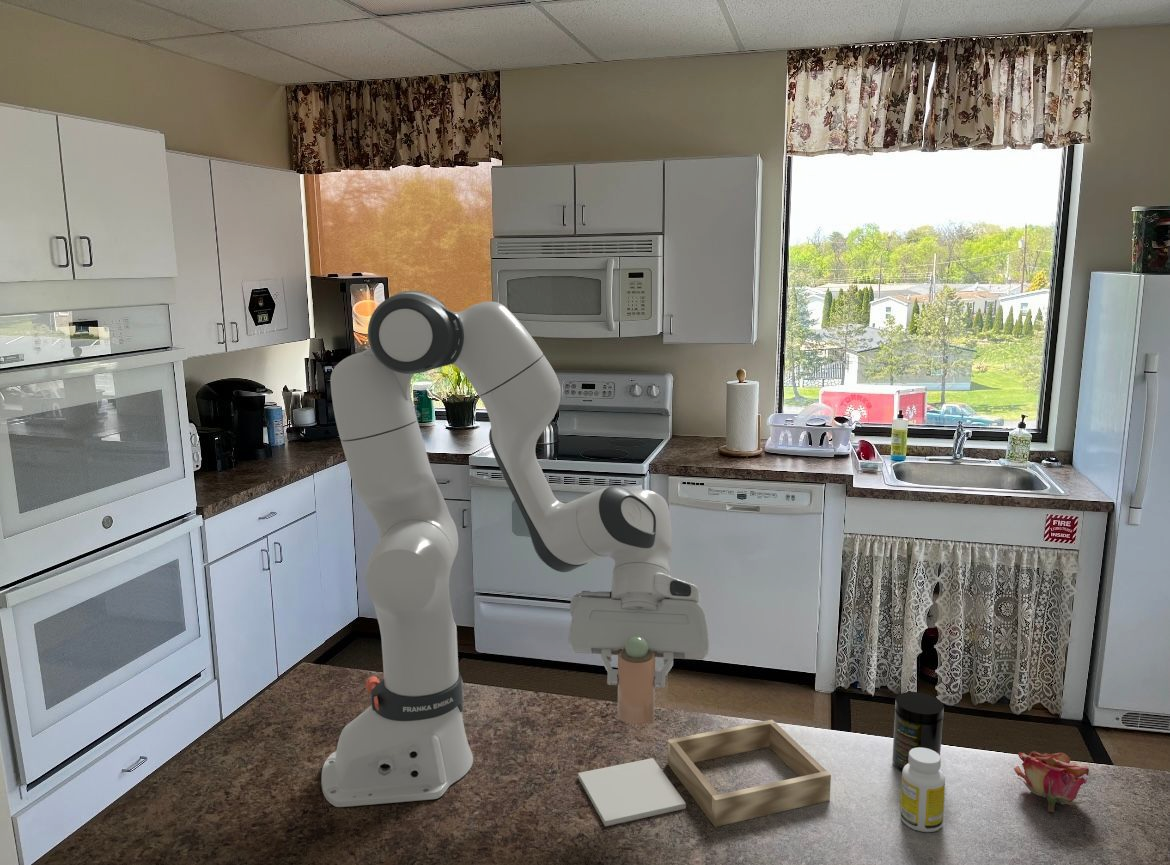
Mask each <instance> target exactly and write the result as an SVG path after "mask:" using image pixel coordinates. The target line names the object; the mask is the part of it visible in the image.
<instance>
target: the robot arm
mask: <svg viewBox="0 0 1170 865" xmlns="http://www.w3.org/2000/svg"><path fill="white" fill-rule="evenodd" d="M367 338H368V344H369V347H367V349H365V350H362V351H360V352H357V353H353V354H351V355H348V356H346V357H345V358H343V359H342V360H341V361H339V362H338V363H337V364H336V365H335V366H334V368H332V369H333V370H331V374H330V381H329V382H330V391H331V400H332V401H331V402H332V407H333V414H334V419H335V424H336V428H337V431H338V435H339V440H340V442H341V446H342V449H343V453H344V457H345V460H346V463H347V467H348V470H349V473H350V476H351V480H352V484H353V487H354V490H355V493H356V494H357V495H358V497H359V498H361V499H362V500H363V501H364V504H365V505H366V508H367V509H368V510H369V512H370V514H371V517H372V518H373V520H374V523H375V525H376V527H377V530H378V533H379V541H378V543H377V544H376V545H375V547H374V548H373V550H371V553H370V556H369V558H368V562H367V565H366V566H367V567H366V572H365V573H366V574H365V585H366V586H365V587H366V590H367V594H368V595H369V597H370V599H371V601H372V603H373V608H374V611H375V615H376V620H377V622H378V626H379V631H380V638H381V640H380V641H381V653H382V666H383V667H382V668H383V669H382V670H383V679H382V680H380V679H379V678H378V677H377V676H376V675H375V676H374V675H373V676H369V677H367V679H366V682H365V685H366V690H367V692H368V693H369V694H370V702H371V704H370V706H369V707H367V708H366V709H365V710H364V711H363V712H361V713H360V714H359V715H358V716H356V717H355V718H354V719H352V721H349V722H348V723H347V724H346V725H345V727H343V729H342V730H341V733H340V734H339V738H338V742H337V746H336V750H335V751H334V752H331V754H329V756H328V757H327V758H326V760H325V761H324V764H322V765H323V766H322V769H321V790H322V794H323V796H324V798H325V799H326V801H327V802H329V804H331V805H332V806H334V807H335V808H345V807H357V806H358V807H359V806H368V805H370V806H371V805H380V804H381V805H383V804H392V803H404V802H406V803H407V802H415V801H416V802H417V801H428V800H436V799H440V798H441V797H442V796H443V795H445V793H446V791H447V790H448V789H449V787H450V786H451V785H453V784H454V783H456V782H457V781H460V780H461V779H462V778H463V777H464V776H465V775H466V774H467V773H468V772H469V771H470V770H471V768H472V766H473V763H474V755H473V753H472V750H471V748H470V745H469V742H468V738H467V733H466V730H465V724H464V719H463V709H464V708H463V707H464V686H463V685H464V682H463V678H462V675H461V672H460V671H459V657H458V656H459V653H458V652H459V651H458V631H457V629H458V628H457V627H458V626H457V624H456V622H455V620H454V614H453V608H452V603H451V596H450V577H451V570H452V566H453V565H454V561H455V560H456V556H457V554H458V551H459V533H458V528H457V526H456V523H455V521H454V519H453V518H452V516H451V513H450V511H449V508H448V505H447V503H446V501H445V498H444V496H443V493H442V492H441V489H440V487H439V486H438V483H437V481H436V480H437V479H436V478H435V476H434V473H433V470H432V467H431V464H430V460H429V456H428V453H427V450H426V445H425V442H424V438H423V435H422V432H421V431H422V430H421V429H420V425H419V420H418V417H417V413H416V410H415V407H414V403H413V399H412V392H411V382H412V380H413V377H414V374H415V375H416V374H420V373H426V372H430V371H432V370H436V369H438V368H443V367H446V366H449V365H453V366H455V367H456V368H457V369H458V370H460V371H461V372H462V374H463V375H464V376H465V377H466V379H467V380H468V382H469V383H470V384H471V386H472V388H473V389H474V391H475V392H476V394H477V395H478V396H479V399H480V400H481V401H482V404H483V406H484V408H485V410H486V412H487V415H488V418H489V424H490V429H489V433H488V438H489V443H490V444H489V445H490V448H491V451H492V453H493V456H494V458H495V461H496V463H497V465H498V468H499V469H500V471H501V473H502V476H503V478H504V480H505V481H506V485H507V486H508V488H509V490H510V492H511V494H512V497H513V498H514V501H515V503H516V504H517V507H518V508H519V511H520V513H521V515H522V517H523V519H524V522H525V524H526V526H527V529H528V531H529V532H528V533H529V535H530V536H529V537H530V540H531V543H532V545H533V549H534V551H535V552H536V554H537V556H538V558H539V559H540V560H541V561H542V563H544V564H545V565H546V566H547V567H549V568H550V569H552V570H555V571H556V572H560V573H568V572H571V571H574V570H576V569H578V568H580V567H583V566H584V565H586V564H588V563H590V562H594V561H597V560H600V559H602V558H606V557H609V558H611V559H612V560H613V561H614V565H613V568H612V577H611V578H612V579H611V590H610V591H604V590H603V591H591V590H582V591H581V592H580V593H577V594H575V595H574V596H573V597H572V598H571V600H570V604H569V606H570V607H569V614H570V616H571V619H570V620H571V622H570V625H569V631H568V637H567V640H568V647H569V648H570V649H571V651H572V652H573V653H575V654H588V655H589V654H590V655H600V658H601V662H602V664H603V666H604V668H605V670H606V671H607V672H606V673H607V675H606V679H607V680H606V684H607V685H609V686H618V668H616V669H615V668H613V667H612V665H611V662H612V660H613V656H618V654H619V652H621V651H622V650H624V649H625V645H626V642H627V641H628V639H630V638H631V637H633V636H640V637H642V638H644V639H645V640H646V642H647V644H648V650H650V651H652V652H653V653H654V654H655V658H661V659H662V660H663V667H662V668H661V670H660V671H655V679H654V687H655V688H661V689H663V688H664V689H665V687H666V677H667V676H668V674H669V672H670V671H671V669H672V667H673V666H674V659H681V660H704V659H705V658H706V657H707V655H708V654H709V648H710V646H709V645H710V644H709V643H710V642H709V641H710V640H709V630H708V622H707V621H708V620H707V616H706V613H705V610H704V608H703V606H701V593H700V589H699V586H698V585H696V584H693V583H690V582H687V581H684V580H681V579H678V578H676V577H673V576H672V573H671V569H670V568H671V567H670V563H669V562H670V557H671V556H672V549H673V547H672V546H673V530H672V529H673V527H672V518H671V513H670V509H669V506H668V505H669V504H668V502H667V501H666V499H665V498H664V497H663V496H662V495H660V494H659V493H657V492H655V491H652V490H650V489H649V490H648V489H639V488H638V489H634V490H633V489H632V490H630V491H629V490H627V489H626V488H623V487H621V486H618V485H611V486H608V487H604V488H601V489H598V490H595V491H593V492H590V493H588V494H585V495H583V496H582V497H579V498H576V499H574V500H571V501H569V502H561V501H559V499H557V498H556V497H555V495H554V493H553V490H552V489H551V487H550V484H549V483H548V482H549V481H548V480H547V478H546V476H545V474H544V472H543V469H542V467H541V465H540V464H539V461H538V458H537V455H536V446H537V442H538V440H539V438H540V437H541V435H542V433H543V432H544V431H545V430H546V428H547V427H548V426H549V425H550V423H551V422H552V420H553V419H554V417H555V415H556V414H557V412H558V409H559V406H560V402H561V396H562V394H561V393H562V391H561V389H562V388H561V384H560V381H559V378H558V376H557V374H556V372H555V370H554V368H553V367H552V365H551V363H550V362H549V360H548V359H547V358H546V356H545V355H544V352H543V351H542V349H541V348H540V347H539V344H537V342H536V340H535V339H534V338H533V337H532V336H531V334H530V333H529V331H528V330H527V329H526V328H525V326H524V325H523V324H522V323H521V321H519V319H518V318H517V317H516V316H515V315H514V313H512V312H511V310H510V309H508V308H507V306H505V305H504V304H502V303H500V302H497V301H482V302H478V303H476V304H473V305H471V306H469V307H467V308H466V309H464V310H461V311H452V310H451V309H449V308H448V307H447V306H446V305H445V304H444V303H443V302H442V301H441V300H440V299H438V298H437V297H436V296H434V295H431V294H429V293H427V292H423V291H419V290H404V291H400V292H398V293H394V294H393V295H391V296H390V297H388V298H386V299H385V300H383V301H382V302H381V303H380V304H378V305H377V307H376V308H375V310H374V311H373V313H372V314H371V316H370V318H369V322H368V328H367Z"/></svg>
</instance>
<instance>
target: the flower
mask: <svg viewBox="0 0 1170 865" xmlns="http://www.w3.org/2000/svg"><path fill="white" fill-rule="evenodd" d="M1018 757H1019V759H1020V760H1021V761H1022V764H1021V766H1022V768H1023V769H1024V773H1023V771H1022V770H1021V768H1020V766H1019V765H1016V767H1014V768H1013V771H1014V772H1015V774H1016V775H1017V777H1018V780H1021V781H1022V782H1023V784H1024V785H1025V786H1026V787H1027V789H1028V790H1029V791H1030V792H1031V793H1032V794H1035V795H1037V796H1039V797H1041V798H1043V799H1044V798H1045V799H1047V801H1048V802H1047V803H1048V804H1047V812H1048V813H1050V814H1055V805H1056V803H1058V804H1061V805H1068V806H1069V807H1071V808H1073V807H1072V806H1075V805H1079V804H1082V803H1085V802H1091V800H1090V799H1088V800H1082V801H1080V802H1079V801H1078V802H1077V801H1075V799H1076V798H1077V795H1078V792H1079V791H1080V789H1081V787H1082V785H1085V784H1086V783H1087V782H1088V781H1087V779H1086V778H1084V777H1082V776H1084V775H1086V776H1088V775H1089V772H1090V769H1089V766H1087V765H1085V766H1082V765H1079V764H1078V763H1077V762H1076V761H1075V762H1074V761H1072V762H1071V758H1070V756H1069V755H1068V754H1066V753H1065V752H1057V753H1046V752H1045V753H1039V752H1037V751H1035V750H1033V751H1030V753H1029V755H1028V754H1025V753H1024V752H1019V751H1018ZM1019 777H1021V778H1019ZM1022 778H1023V780H1022Z"/></svg>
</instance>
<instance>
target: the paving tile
mask: <svg viewBox="0 0 1170 865" xmlns="http://www.w3.org/2000/svg"><path fill="white" fill-rule="evenodd" d="M577 775H578V776H577V778H578V781H579V782H580V784H581V786H582V787H583V789H584V791H585V793H586V795H587V796H588V798H589V800H590V801H591V804H592V805H593V807H594V809H595V811H596V813H597V815H598V816H599V818H600V820H601V822H602V823H603V825H604V827H610V826H613V825H619V824H622V823H627V822H632V821H636V820H640V819H644V818H648V817H653V816H658V815H663V814H667V813H672V812H675V811H680V810H685V809H687V802H686V801H685V800H684V799H683V797H682V796H681V795H680V793H679V792H678V790H677V789H676V788H675V786H674V785H673V783H672V782H671V781H670V780H669V778H668V776H667V775H666V774H665V773H664V771H663V770H662V768H661V767H660V765H659V764H658V762H656V760H655V759H654V758H653V757H650V758H646V759H640V760H636V761H631V762H627V763H626V762H625V763H621V764H617V765H611V766H610V765H609V766H606V767H599V768H597V769H596V768H595V769H591V770H587V771H586V770H585V771H582V772H581V771H579V772H578V773H577Z"/></svg>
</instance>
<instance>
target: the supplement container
mask: <svg viewBox="0 0 1170 865" xmlns="http://www.w3.org/2000/svg"><path fill="white" fill-rule="evenodd" d="M894 703H895V704H894V705H895V706H894V723H893V741H892V742H893V744H892V763H893V764H894V766H895V767H896V768H897V769H898V770H899V771H900V772H903V768H904V766H905V765H906V764H908V763H909V760H908V759H909V751H910V750H911V749H913V748H919V747H920V748H927V749H931V750H933V751H935V752H937V753H938V754H939V755H940V756H941V751H942V750H941V748H942V736H943V735H942V733H943V720H944V709H945V706H944V703H943V702H942V701H941V700H940V699H938V698H937V697H935V696H933V695H930V694H927V693H924V692H923V693H922V692H919V691H918V692H917V691H907V692H906V691H905V692H902V693H899V694H898V695H896V697H895V702H894Z"/></svg>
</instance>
